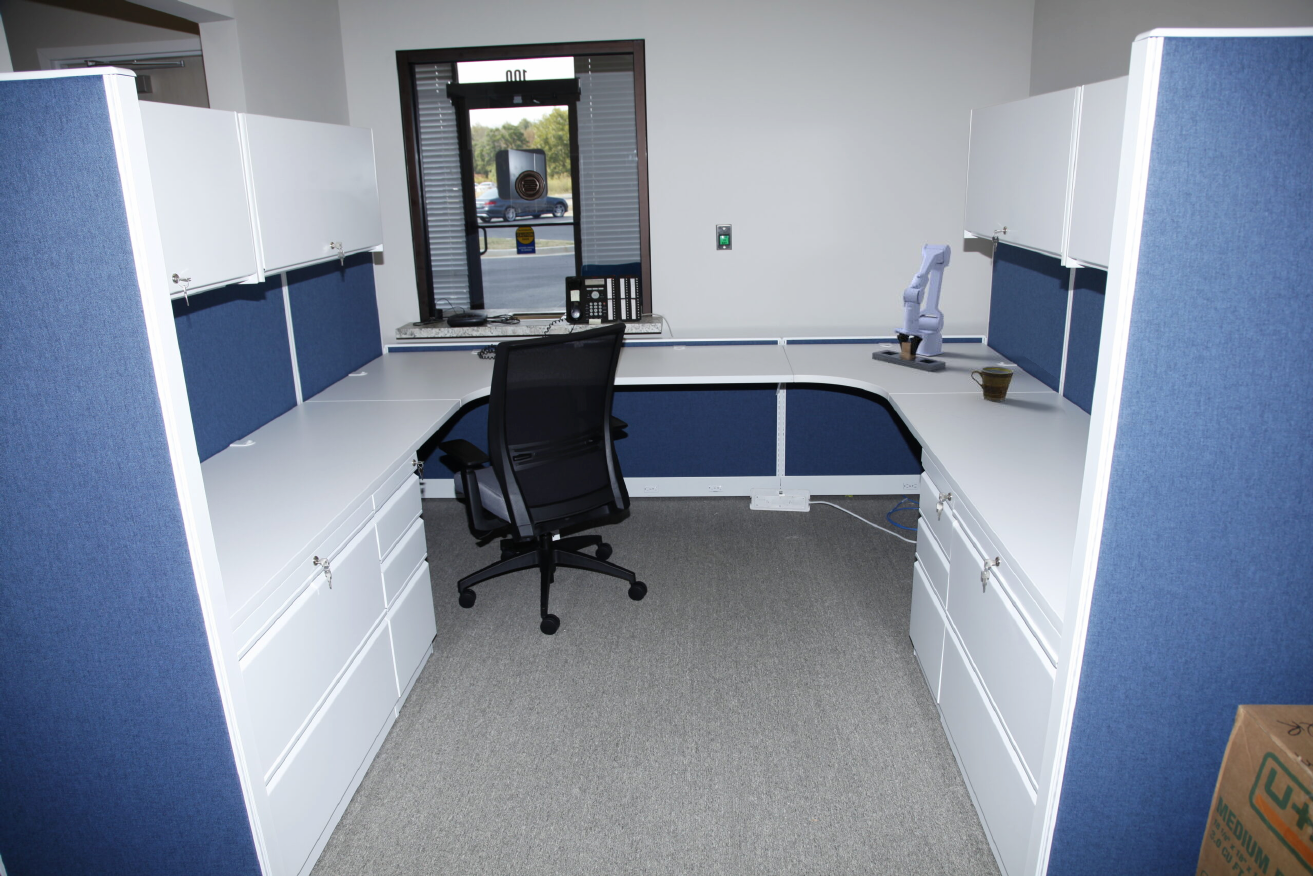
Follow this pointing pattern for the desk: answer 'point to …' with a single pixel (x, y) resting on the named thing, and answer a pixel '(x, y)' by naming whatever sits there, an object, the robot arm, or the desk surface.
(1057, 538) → the desk surface
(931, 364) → the grey square hole board
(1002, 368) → the ceramic cup
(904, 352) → the square peg
